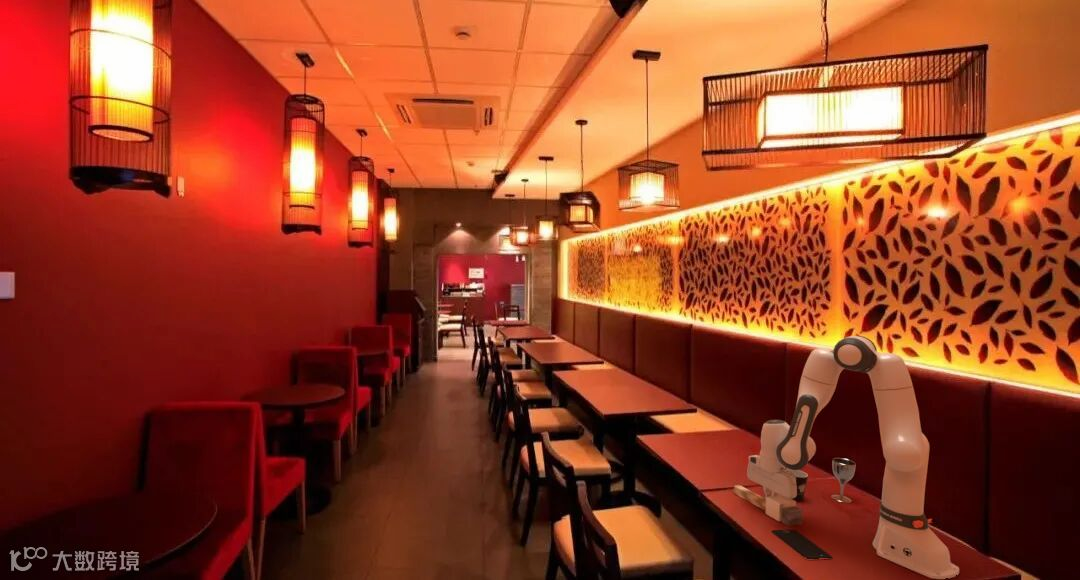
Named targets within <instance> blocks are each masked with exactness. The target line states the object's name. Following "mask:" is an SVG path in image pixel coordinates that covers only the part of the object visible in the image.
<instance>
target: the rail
mask: <svg viewBox="0 0 1080 580" xmlns="http://www.w3.org/2000/svg"><path fill="white" fill-rule="evenodd" d="M733 494H734V495H736V496H738V497H739V498H741V499H743V500H745V501H746V502H749V503H750V504H752V505H754V506H756V507H758V508H760V509H761V510H763V511H765V512H766V499H765V497H763V496H761V494H758V493H756V492H754V491H752V490H750V489H748V488H746V487H744V486H742V485H741V484H736V485H733ZM802 519H803V509H801V508H799V507H797V505H796V506H794V507H789V508H783V515H782V521H781V523H782V524H784V525H786V526H788V527H793V526H797V525H802V524H803V523H802V521H803V520H802Z"/></svg>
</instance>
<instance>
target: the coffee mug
mask: <svg viewBox="0 0 1080 580" xmlns="http://www.w3.org/2000/svg"><path fill="white" fill-rule="evenodd" d="M786 470H788V471H790V472H792V473H793V474H794V476H795V477H796V485H797V496H796V497H795V498H792V500H794V501H796V502H799V503H801V502H803V501H804V497H805V492H806V487H807V482H808V477H809V475H808V473H807V472H805V471H802V470H801V469H800V470H791V469H788V468H786Z"/></svg>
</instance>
